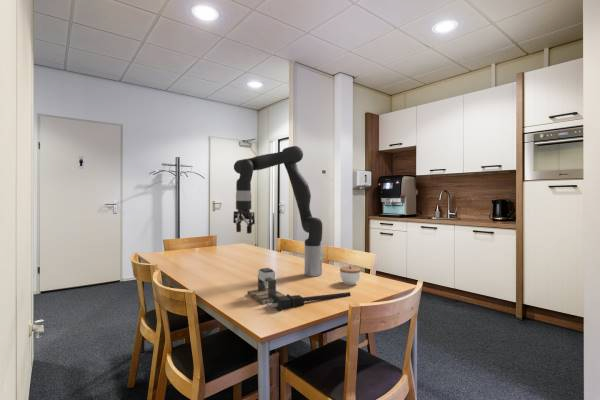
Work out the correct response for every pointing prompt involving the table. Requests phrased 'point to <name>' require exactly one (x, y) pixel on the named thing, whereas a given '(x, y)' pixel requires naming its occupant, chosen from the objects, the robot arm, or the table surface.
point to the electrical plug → (298, 300)
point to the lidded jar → (350, 274)
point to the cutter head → (266, 275)
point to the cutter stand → (264, 291)
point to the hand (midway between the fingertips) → (243, 232)
